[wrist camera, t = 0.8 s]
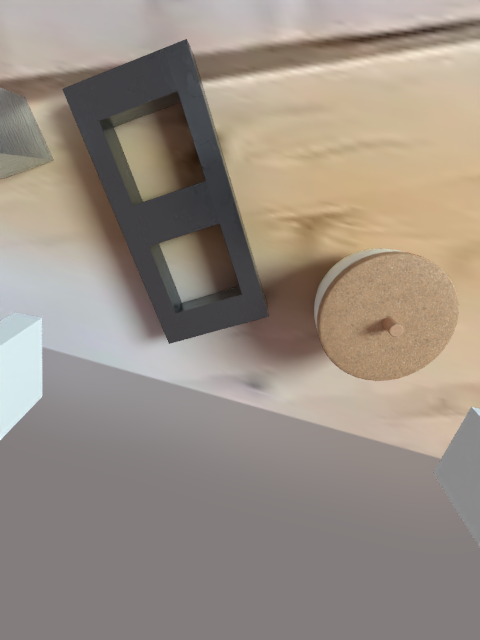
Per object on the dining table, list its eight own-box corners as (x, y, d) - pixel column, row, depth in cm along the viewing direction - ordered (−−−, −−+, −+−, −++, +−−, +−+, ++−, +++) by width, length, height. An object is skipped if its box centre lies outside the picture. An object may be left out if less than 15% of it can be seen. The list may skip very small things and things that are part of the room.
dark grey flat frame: (80, 98, 29) (62, 88, 26) (193, 54, 27) (186, 39, 24) (175, 331, 36) (169, 343, 33) (267, 305, 35) (268, 316, 32)
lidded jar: (421, 327, 35) (477, 374, 26) (317, 353, 36) (337, 406, 28) (407, 223, 31) (468, 238, 23) (293, 256, 33) (308, 282, 24)
